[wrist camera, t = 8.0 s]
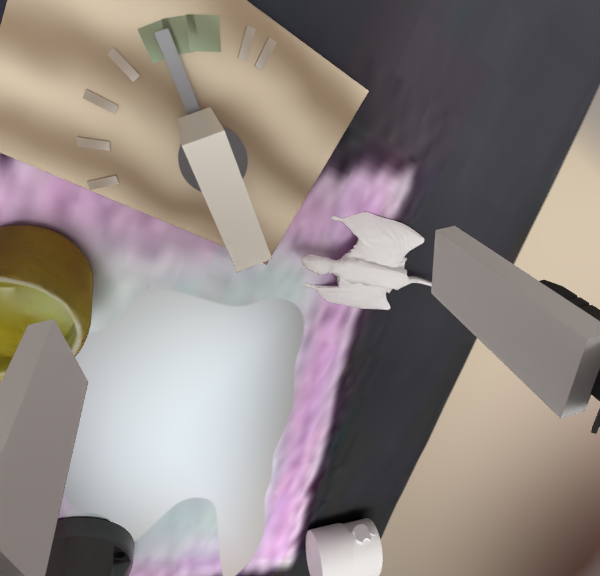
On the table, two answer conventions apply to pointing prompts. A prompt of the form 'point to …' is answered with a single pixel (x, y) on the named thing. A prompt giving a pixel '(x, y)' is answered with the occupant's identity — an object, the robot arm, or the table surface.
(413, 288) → the table surface
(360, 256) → the winged dragon toy
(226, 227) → the white upright block
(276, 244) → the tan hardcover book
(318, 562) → the white cylinder
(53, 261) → the mug
